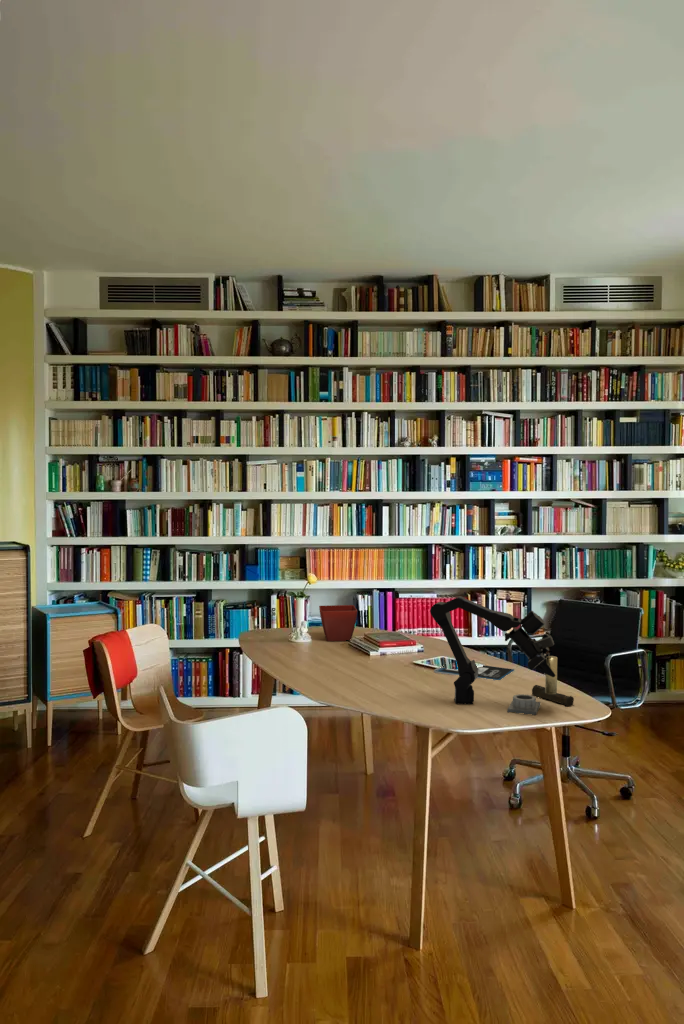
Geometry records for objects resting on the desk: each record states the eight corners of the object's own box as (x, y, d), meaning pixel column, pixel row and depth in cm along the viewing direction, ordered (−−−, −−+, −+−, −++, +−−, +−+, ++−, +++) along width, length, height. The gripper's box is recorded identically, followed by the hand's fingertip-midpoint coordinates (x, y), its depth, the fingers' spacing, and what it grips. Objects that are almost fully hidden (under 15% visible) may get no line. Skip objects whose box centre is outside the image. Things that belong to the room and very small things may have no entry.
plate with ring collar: (507, 712, 278) (507, 700, 277) (513, 702, 291) (513, 691, 290) (535, 715, 274) (536, 703, 274) (540, 705, 287) (540, 693, 287)
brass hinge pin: (546, 694, 277) (547, 658, 276) (544, 691, 281) (544, 655, 280) (557, 694, 277) (558, 658, 276) (555, 691, 281) (555, 656, 280)
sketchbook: (499, 682, 323) (499, 678, 323) (432, 674, 338) (433, 669, 338) (514, 672, 342) (514, 667, 342) (450, 664, 357) (450, 659, 356)
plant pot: (320, 643, 402) (320, 610, 401) (318, 636, 421) (319, 605, 420) (357, 642, 403) (357, 610, 403) (353, 635, 422) (353, 605, 422)
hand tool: (574, 706, 287) (574, 694, 287) (567, 707, 285) (567, 695, 285) (537, 694, 303) (537, 683, 303) (529, 696, 301) (530, 684, 301)
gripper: (537, 632, 271) (569, 666, 267) (543, 623, 288) (573, 655, 285) (514, 652, 274) (546, 686, 270) (522, 643, 291) (551, 674, 288)
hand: (555, 675), depth 278 cm, fingers closed on brass hinge pin, 4 cm apart
